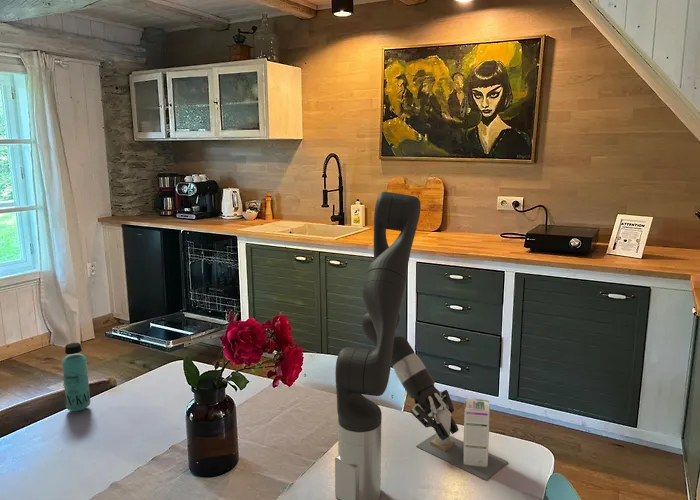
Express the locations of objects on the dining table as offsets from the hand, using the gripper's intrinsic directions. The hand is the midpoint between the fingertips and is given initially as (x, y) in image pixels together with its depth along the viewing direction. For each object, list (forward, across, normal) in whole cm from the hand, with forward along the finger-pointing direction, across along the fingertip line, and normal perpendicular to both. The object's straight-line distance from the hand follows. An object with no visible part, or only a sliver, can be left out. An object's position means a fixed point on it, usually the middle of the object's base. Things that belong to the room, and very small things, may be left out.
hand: (450, 435), depth 136 cm
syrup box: (+8, 0, -2) cm, 8 cm away
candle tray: (+5, 0, 0) cm, 5 cm away
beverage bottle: (-59, -58, +65) cm, 105 cm away
